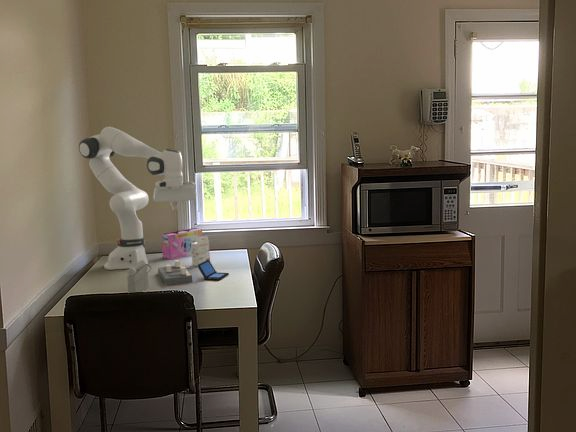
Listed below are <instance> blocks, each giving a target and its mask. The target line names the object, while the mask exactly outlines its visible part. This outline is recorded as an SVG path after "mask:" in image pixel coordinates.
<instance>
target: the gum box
mask: <svg viewBox="0 0 576 432" xmlns="http://www.w3.org/2000/svg"><path fill="white" fill-rule="evenodd" d="M160 236H161V237H160V238H161V250H162V258H163V259H166V258H167V259H166V260H170V259H171V260H176V259H180V258H184V257H188V256H192V252H191V243H194V242H197V238H199V237H203V229H202V228H201V229H200V228H199V229H198V228H197V227H194V228H193V227H192V228H187V229H182V230H177V231H169V232H164V233H161V234H160ZM201 240H204V239H203V238H202V239H201Z"/></svg>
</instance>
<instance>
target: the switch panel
mask: <svg viewBox="0 0 576 432" xmlns="http://www.w3.org/2000/svg"><path fill="white" fill-rule="evenodd" d="M180 267H185V266H184V264H180ZM180 267H177V268H176V267H175V265H171V269H172V272H167V271H166V266H163V267H162V266H161V267H158V268H157V274H158V276H159V277H160V279H161V280H162V281H163V283H164V284H165V286H171V285H179V284H187V283H193V275H192V273H191V272H190V271H189V270H188V269H186V274H185V275H182V274H181V268H180Z"/></svg>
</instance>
